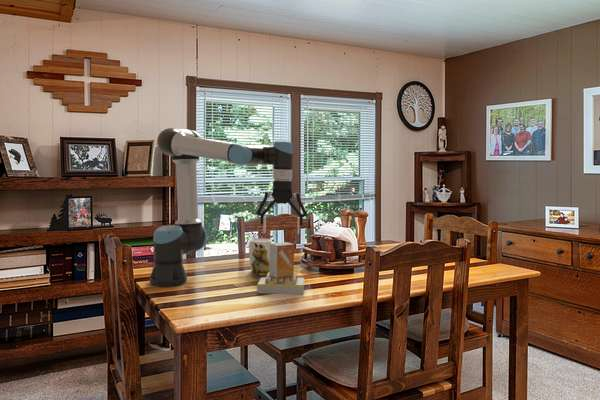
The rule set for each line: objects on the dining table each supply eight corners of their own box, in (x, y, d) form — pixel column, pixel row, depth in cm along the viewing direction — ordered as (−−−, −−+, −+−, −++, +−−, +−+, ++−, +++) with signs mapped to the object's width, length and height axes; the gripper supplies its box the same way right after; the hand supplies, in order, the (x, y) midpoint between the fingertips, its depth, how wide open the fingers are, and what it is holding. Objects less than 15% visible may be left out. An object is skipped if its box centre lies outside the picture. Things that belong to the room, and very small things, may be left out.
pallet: (265, 285, 195) (265, 278, 195) (267, 277, 207) (268, 272, 207) (295, 285, 195) (295, 279, 195) (296, 278, 207) (296, 272, 207)
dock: (257, 293, 194) (257, 284, 194) (260, 284, 208) (261, 275, 208) (303, 294, 194) (303, 285, 194) (304, 285, 208) (304, 276, 208)
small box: (276, 278, 196) (277, 245, 195) (268, 275, 201) (269, 243, 200) (294, 276, 200) (294, 244, 199) (285, 273, 206) (286, 241, 205)
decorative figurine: (248, 275, 223) (248, 242, 222) (263, 273, 229) (263, 241, 228) (260, 280, 216) (261, 245, 215) (276, 277, 221) (276, 243, 220)
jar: (245, 273, 229) (245, 240, 228) (252, 268, 239) (253, 237, 238) (267, 274, 226) (267, 242, 225) (274, 270, 236) (274, 238, 235)
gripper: (250, 179, 194) (249, 233, 196) (313, 181, 194) (312, 235, 195) (252, 178, 202) (251, 230, 204) (314, 180, 201) (312, 232, 203)
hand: (281, 233), depth 200 cm, fingers open, 13 cm apart
